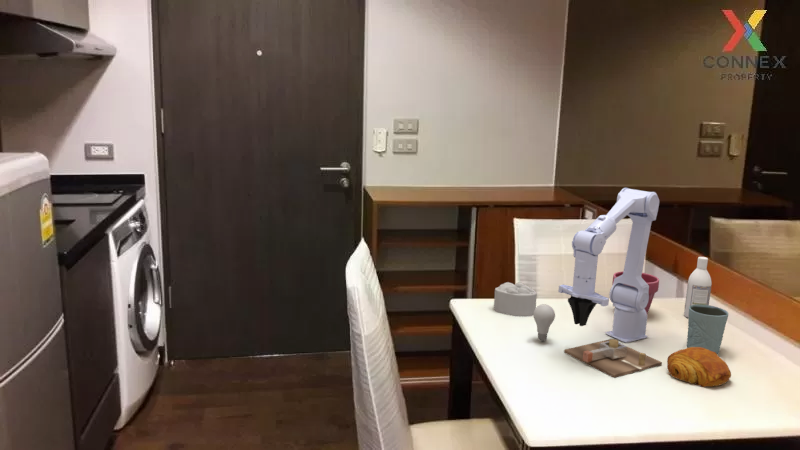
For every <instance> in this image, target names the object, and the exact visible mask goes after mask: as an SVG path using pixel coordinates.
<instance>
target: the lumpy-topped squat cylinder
mask: <svg viewBox="0 0 800 450" xmlns="http://www.w3.org/2000/svg"><path fill="white" fill-rule="evenodd" d="M537 296H538V294H537V291H536V290H535V289H533V288H532V287H530V286H528V285H526V284H525V283H523V282H515V284H514V283H513V282H509V281H507V282H504V283H501V284H499V286H498V287H495V289H494V298H493V301H494V302H493V311H494V312H496V313H498V314H499V313H500V314H503V315H507V316H512V317H533V313H534V310H535V308H536V307H537Z"/></svg>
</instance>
